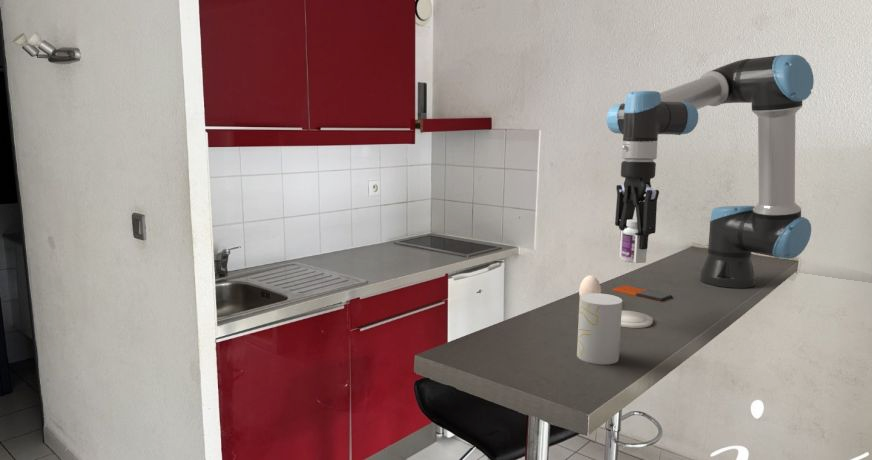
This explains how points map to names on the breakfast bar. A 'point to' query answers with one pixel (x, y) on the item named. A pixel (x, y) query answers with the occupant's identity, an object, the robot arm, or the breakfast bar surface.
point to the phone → (643, 293)
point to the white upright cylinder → (599, 328)
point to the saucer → (635, 320)
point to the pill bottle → (629, 241)
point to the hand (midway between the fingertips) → (632, 259)
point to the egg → (589, 285)
